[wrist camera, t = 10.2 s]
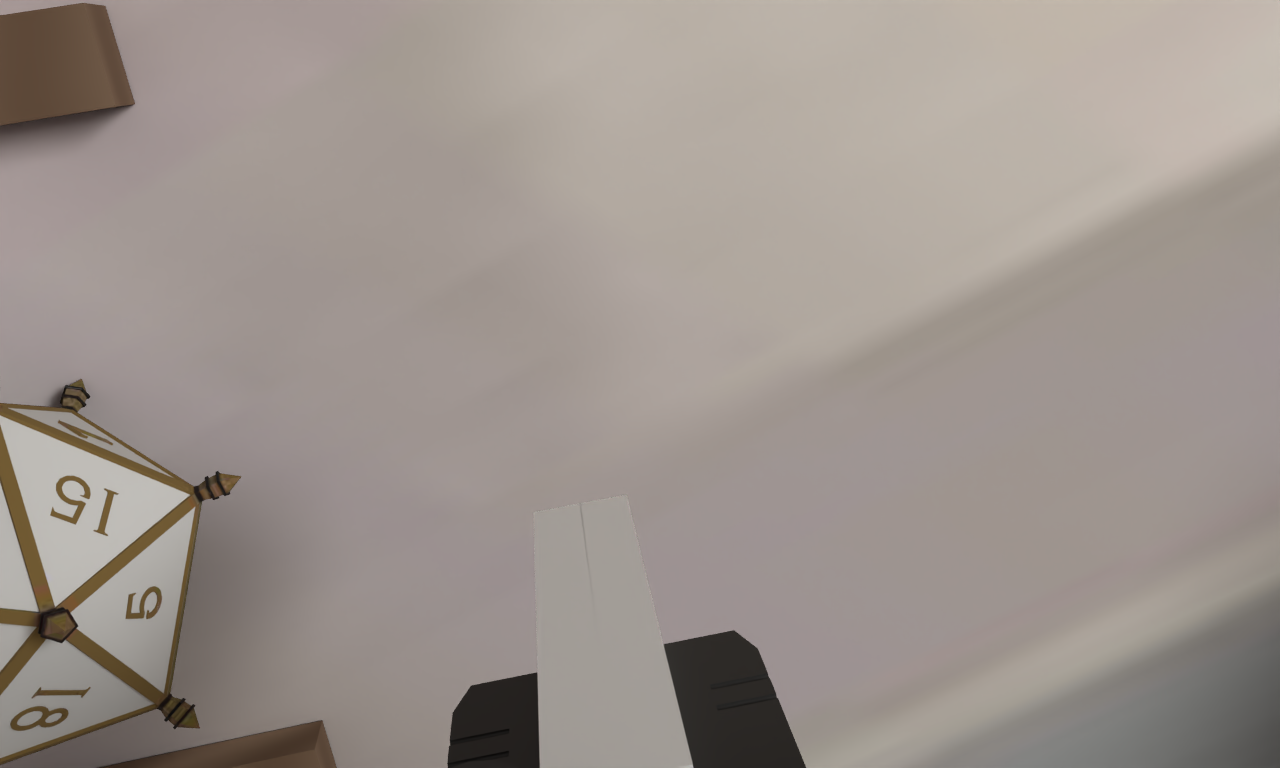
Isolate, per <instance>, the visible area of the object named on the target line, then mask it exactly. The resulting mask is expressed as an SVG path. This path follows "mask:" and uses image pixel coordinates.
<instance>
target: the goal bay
mask: <svg viewBox="0 0 1280 768" xmlns="http://www.w3.org/2000/svg"><path fill="white" fill-rule="evenodd" d="M133 104H135V102H134V99H133V96H132V93H131V89H130V86H129V83H128V79H127V76H126V73H125V69H124V66H123V63H122V60H121V56H120V53H119V50H118V46H117V43H116V40H115V37H114V33H113V30H112V27H111V23H110V20H109V17H108V13H107V10H106V7H105V6H102V5H94V4H87V3H80V4H73V5H67V6H60V7H53V8H47V9H40V10H33V11H27V12H20V13H14V14H7V15H0V126H1V125H8V124H14V123H20V122H27V121H33V120H39V119H45V118H52V117H58V116H64V115H70V114H77V113H83V112H89V111H95V110H102V109H108V108H114V107H120V106H127V105H133ZM101 768H337V767H336V764H335V761H334V758H333V754H332V751H331V748H330V744H329V741H328V738H327V735H326V731H325V728H324V725H323V721H317V722H312V723H308V724H303V725H298V726H294V727H289V728H284V729H279V730H275V731H270V732H265V733H261V734H256V735H251V736H247V737H242V738H237V739H232V740H228V741H223V742H218V743H214V744H209V745H204V746H200V747H195V748H190V749H185V750H181V751H176V752H171V753H167V754H162V755H157V756H153V757H148V758H143V759H138V760H134V761H129V762H124V763H120V764H115V765H110V766H106V767H101Z"/></svg>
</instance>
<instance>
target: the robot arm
mask: <svg viewBox="0 0 1280 768" xmlns="http://www.w3.org/2000/svg"><path fill="white" fill-rule="evenodd" d="M533 516H534V556H535V595H536V635H537V673H532V674H527V675H522V676H517V677H512V678H507V679H502V680H497V681H492V682H487V683H482V684H477V685H472V686H471V687H470V688H469V690H468V691H467V693H466V694H465V696H464V697H463V698H462V700H461V701H460V703H459V704H458V706H457V707H456V709H455V710H454V712H453V716H452V725H451V735H450V745H451V746H449V753H448V763H447V764H448V768H806V766H805V764H804V761H803V759H802V756H801V754H800V752H799V749H798V747H797V744H796V742H795V739H794V737H793V734H792V732H791V729H790V727H789V724H788V722H787V720H786V717H785V715H784V712H783V710H782V707H781V705H780V702H779V700H778V698H777V697H776V692H775V690H774V687H773V685H772V683H771V680H770V678H769V677H768V673H767V670H766V668H765V665H764V663H763V660H762V658H761V655H760V653H759V651H758V648H756V647H755V646H754V645H752V644H751V643H750V642H748V641H747V640H746V639H744V638H743V637H742V636H741V635H739V634H738V633H737V632H735V631H734V630H733V631H728V632H723V633H718V634H713V635H708V636H703V637H698V638H693V639H688V640H683V641H678V642H673V643H668V644H663V641H662V637H661V632H660V628H659V624H658V620H657V616H656V612H655V608H654V604H653V600H652V596H651V592H650V588H649V584H648V579H647V575H646V571H645V567H644V563H643V559H642V555H641V551H640V547H639V543H638V539H637V535H636V531H635V526H634V522H633V518H632V514H631V510H630V506H629V502H628V498H627V495H621V496H616V497H611V498H606V499H600V500H595V501H590V502H585V503H579V504H574V505H569V506H564V507H558V508H553V509H548V510H543V511H537V512H533Z"/></svg>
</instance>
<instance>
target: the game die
mask: <svg viewBox="0 0 1280 768" xmlns="http://www.w3.org/2000/svg"><path fill="white" fill-rule="evenodd" d="M88 398H90V395H89V394H88V393H87V392H86V390H85V387H84V384H83V381H82V379H80V380H79V381H77V382H75V383H73V384H71V385H69V386H68V385H65V388H64V392H63V394H62V397H61V401H60V403H61V404H62V408H56V407H44V406H31V405H18V404H6V403H0V765H1V764H4V763H7V762H10V761H13V760H15V759H18V758H21V757H24V756H26V755H29V754H32V753H35V752H38V751H40V750H43V749H46V748H49V747H51V746H54V745H57V744H60V743H63V742H65V741H68V740H71V739H74V738H76V737H79V736H82V735H85V734H88V733H90V732H93V731H96V730H99V729H101V728H104V727H107V726H110V725H113V724H115V723H118V722H121V721H124V720H127V719H129V718H132V717H135V716H138V715H140V714H143V713H146V712H149V711H152V710H154V709H159V710H161V711H162V713H163V714H164V716H165V717H166V718H165V721H166V722H167V721H168V720H169V721H170V722H171V723H172V724H174V725H175V726H174V727H173V728H174V729H176V728H177V727H184V728H200V727H199V724H198V720H197V717H196V714H195V711H194V707H195V705H194V704H193V705H192V706H190V705H189V704H187V703H186V702H184V701H185V700H186V699H184V698H183V699H182V700H181V699H178V698H175V697H173V696H172V695H171V694H170V692H171V686H172V680H173V674H174V668H175V662H176V655H177V649H178V643H179V637H180V631H181V625H182V619H183V613H184V607H185V601H186V595H187V589H188V583H189V577H190V571H191V565H192V559H193V553H194V547H195V541H196V535H197V529H198V523H199V517H200V511H201V505H202V501H204V500H205V499H211V498H212V499H213V500H215V499H218V498H219V496H221V495H224V496H226V495H229V494H230V490H231V489H232V488H233V487H234V485H235V484H236V483H237V482H238V480H239V479H240V478H241V476H234V475H227V474H220V473H219V472H218V471H217V472H216V475H214V476H212V477H210V478H209V477H208V476H207V477H205V481H204V482H202V483H201V484H200V485H199V486H192V485H190V484H189V483H187V482H186V481H184V480H183V479H181V478H179V477H178V476H176V475H175V474H173V473H172V472H170V471H168V470H167V469H165V468H164V467H162V466H161V465H159V464H157V463H156V462H154V461H153V460H151V459H149V458H148V457H146V456H145V455H143V454H142V453H140V452H138V451H137V450H135V449H134V448H132V447H131V446H129V445H127V444H126V443H124V442H123V441H121V440H119V439H118V438H116V437H115V436H113V435H112V434H110V433H108V432H107V431H105V430H104V429H102V428H101V427H99V426H97V425H96V424H94V423H93V422H91V421H89V420H88V419H86V418H85V417H83V416H82V415H80V414H78V413H77V412H78V411H79V409H80V408H82V407H85V406H86V404H85V401H86V399H88Z"/></svg>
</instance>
